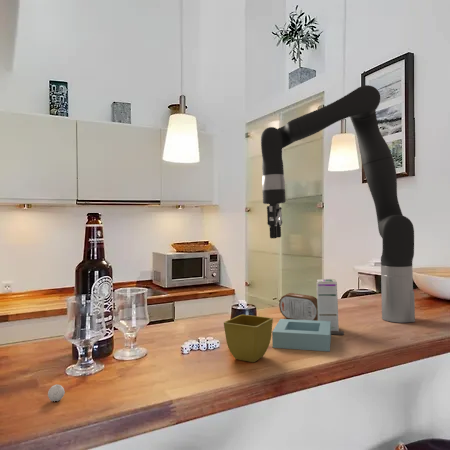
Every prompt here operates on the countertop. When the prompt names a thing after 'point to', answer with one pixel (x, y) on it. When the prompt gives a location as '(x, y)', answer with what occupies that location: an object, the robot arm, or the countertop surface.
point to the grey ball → (56, 393)
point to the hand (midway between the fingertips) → (275, 237)
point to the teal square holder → (302, 335)
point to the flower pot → (248, 336)
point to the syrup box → (328, 302)
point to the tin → (299, 307)
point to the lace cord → (337, 332)
